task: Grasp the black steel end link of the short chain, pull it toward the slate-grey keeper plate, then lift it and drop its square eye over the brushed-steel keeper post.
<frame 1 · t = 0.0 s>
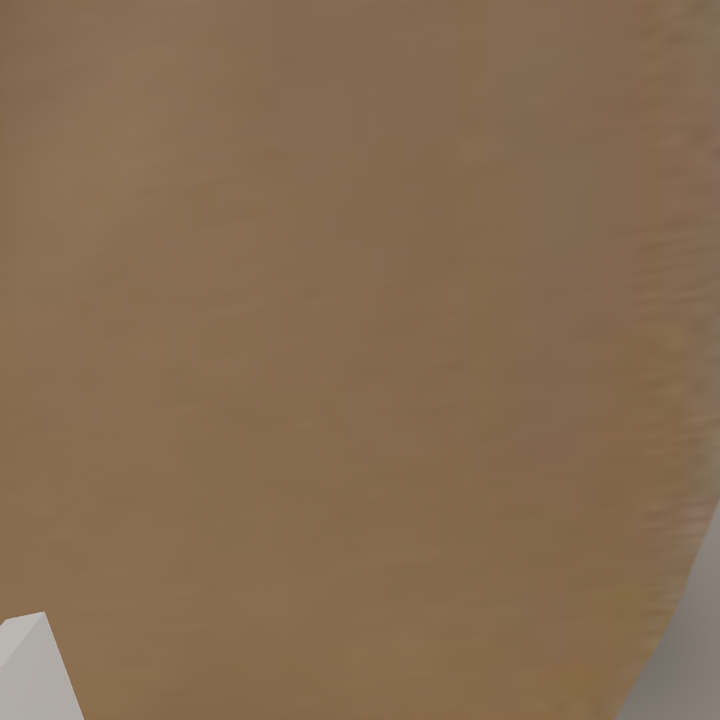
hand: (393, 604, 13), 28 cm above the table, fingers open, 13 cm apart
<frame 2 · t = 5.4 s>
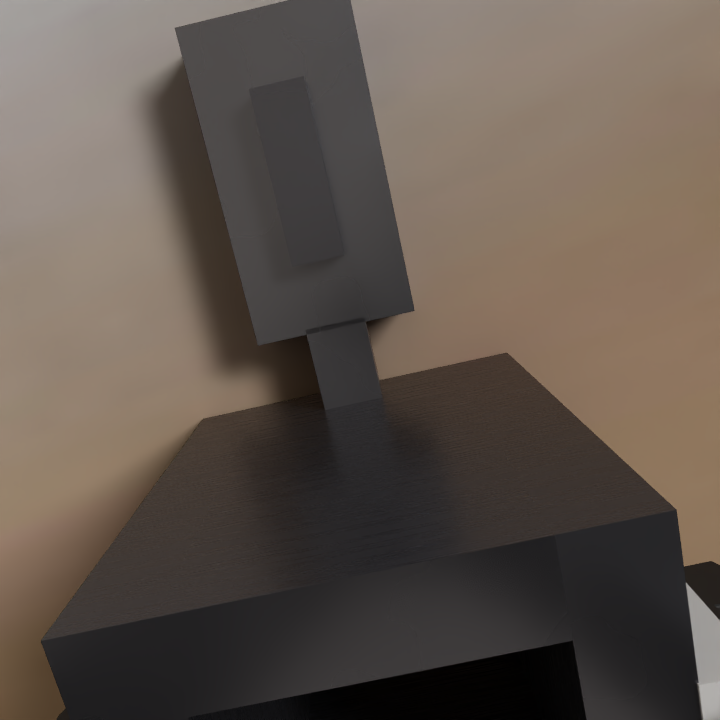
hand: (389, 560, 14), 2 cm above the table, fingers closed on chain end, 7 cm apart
chain end: (386, 526, 16), on the table, touching gripper
when the fingers open (4 cm above the table, at t = 12.4 s): chain end stays where it is, resting on keeper.
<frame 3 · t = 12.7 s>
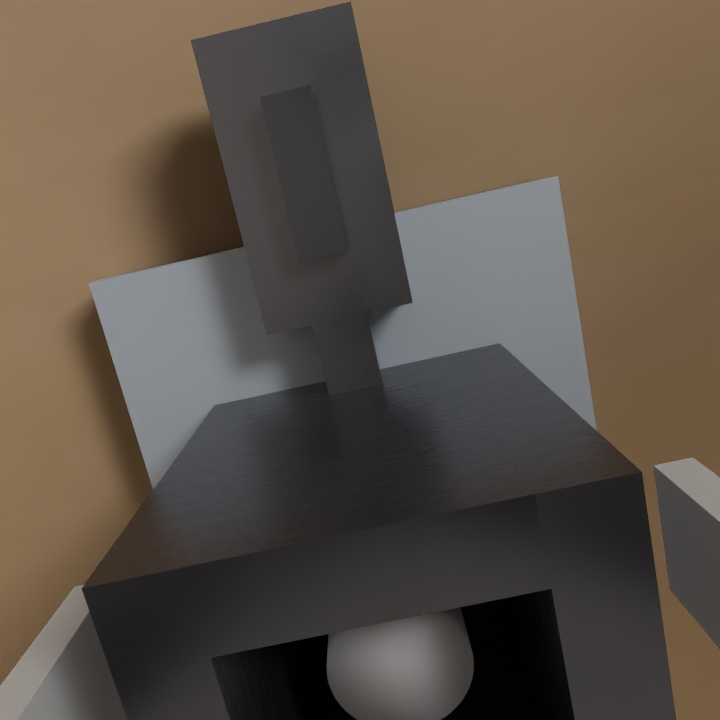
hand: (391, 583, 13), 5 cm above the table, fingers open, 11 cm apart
chain end: (386, 506, 17), point 1 cm above the table, touching keeper
keeper: (381, 483, 18), on the table
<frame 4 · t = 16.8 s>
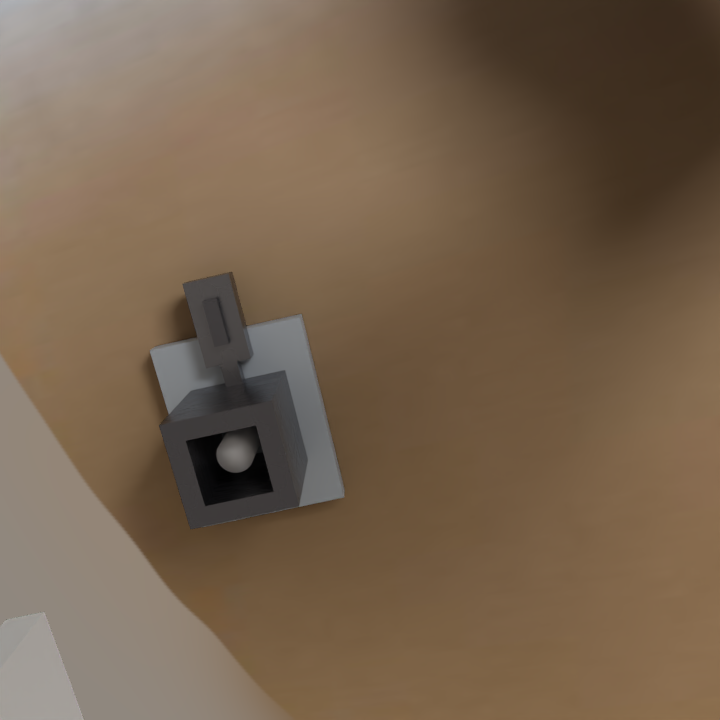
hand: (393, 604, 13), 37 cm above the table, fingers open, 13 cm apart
chain end: (250, 425, 49), point 1 cm above the table, touching keeper
keeper: (252, 419, 50), on the table
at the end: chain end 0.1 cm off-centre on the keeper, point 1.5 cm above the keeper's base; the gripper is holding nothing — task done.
